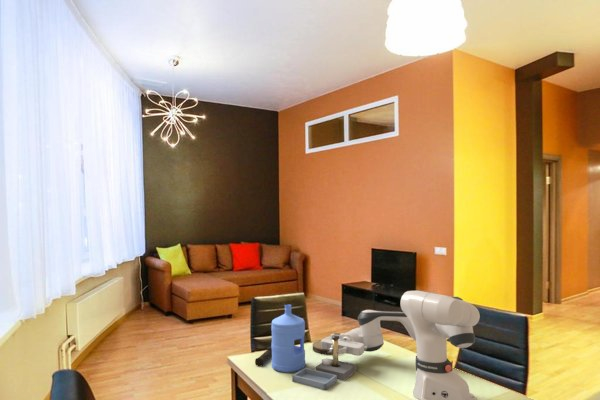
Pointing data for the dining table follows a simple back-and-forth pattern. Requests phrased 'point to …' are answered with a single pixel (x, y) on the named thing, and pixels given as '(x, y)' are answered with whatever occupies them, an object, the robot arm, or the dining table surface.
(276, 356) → the water jug
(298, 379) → the tray
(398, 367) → the dining table surface
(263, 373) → the dining table surface
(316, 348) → the brown round disc
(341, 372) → the block
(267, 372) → the dining table surface
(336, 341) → the lock pin
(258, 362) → the hand tool
